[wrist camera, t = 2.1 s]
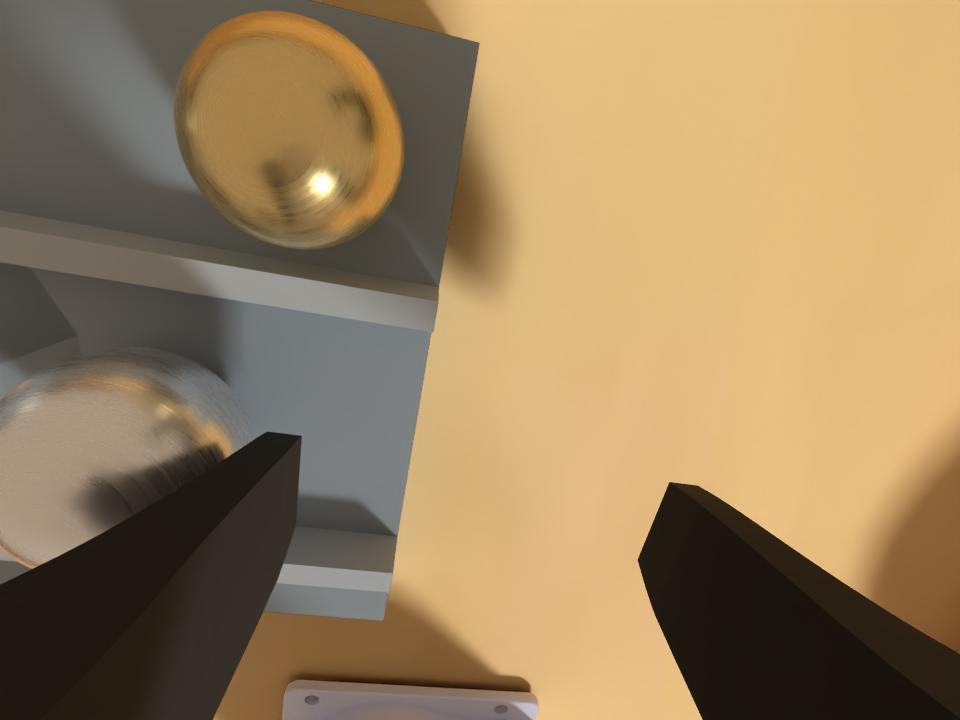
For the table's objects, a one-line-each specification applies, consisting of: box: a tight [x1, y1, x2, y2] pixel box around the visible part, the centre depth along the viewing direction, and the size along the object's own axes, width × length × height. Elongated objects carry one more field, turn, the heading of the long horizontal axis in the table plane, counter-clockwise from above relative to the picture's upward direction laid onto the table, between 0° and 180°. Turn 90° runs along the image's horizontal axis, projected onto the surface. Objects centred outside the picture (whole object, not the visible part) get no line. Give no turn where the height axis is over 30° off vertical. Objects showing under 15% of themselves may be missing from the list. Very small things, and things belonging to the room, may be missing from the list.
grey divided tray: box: [0, 0, 479, 621], centre depth 10 cm, size 17×14×4 cm
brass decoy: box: [173, 11, 405, 250], centre depth 7 cm, size 3×3×3 cm
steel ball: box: [0, 347, 254, 569], centre depth 8 cm, size 4×4×4 cm
